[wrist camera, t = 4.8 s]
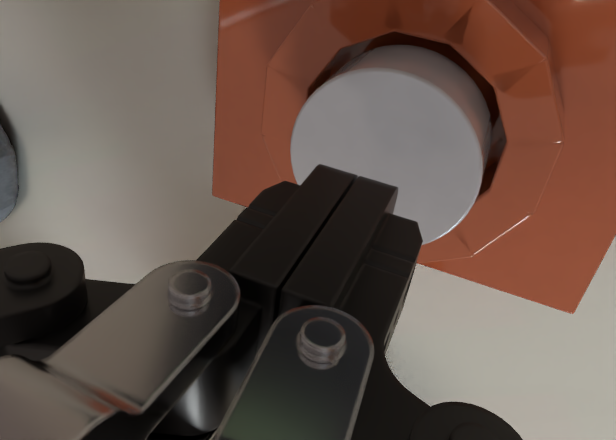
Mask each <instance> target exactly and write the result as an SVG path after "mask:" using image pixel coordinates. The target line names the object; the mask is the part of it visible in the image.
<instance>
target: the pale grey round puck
mask: <svg viewBox="0 0 616 440" xmlns="http://www.w3.org/2000/svg"><path fill="white" fill-rule="evenodd" d="M491 142H492V123H491V117H490V112H489V109H488V106H487V103H486V101H485V99H484V97H483V95H482V93H481V91H480V89H479V88H478V86H477V85H476V83H475V82H474V80H473V79H472V78H471V77H470V76H469V75H468V74H467V73H466V71H464V70H463V69H462V68H461V67H460V66H459V65H457V64H456V63H455V62H453V61H452V60H450V59H448V58H447V57H445V56H443V55H441V54H439V53H437V52H435V51H432V50H429V49H426V48H423V47H418V46H412V45H387V46H381V47H377V48H373V49H371V50H368V51H366V52H363V53H361V54H359V55H357V56H356V57H354V58H352V59H351V60H350V61H348V62H347V63H346V64H344V65H343V66H342V67H341V68H340V69H339V70H338V71H336V72H335V73H334V74H333V75H332V76H331V77H330V78H329V79H327V80H326V81H325V82H324V83H323V84H322V85H321V86H320V87H318V88H317V89H316V90H315V91H314V92H313V93H312V94H311V95H310V96H309V98H308V99H307V100H306V102H305V103H304V105H303V106H302V107H301V109H300V111H299V113H298V115H297V117H296V120H295V123H294V126H293V130H292V135H291V145H290V154H291V164H292V169H293V173H294V176H295V179H296V182H297V184H298V185H301V184H302V183H303V182H304V180H305V179H306V178H307V177H308V176H309V175H310V173H311V172H312V171H313V170H314V169H315V167H316V166H317V165H319V164H322V165H326V166H329V167H332V168H336V169H339V170H342V171H346V172H349V173H352V174H356V175H358V177H359V176H363V177H366V178H369V179H373V180H376V181H379V182H383V183H386V184H389V185H393V186H396V187H398V195H397V200H396V204H395V208H394V212H393V214H394V215H397V216H400V217H403V218H407V219H410V220H413V221H416V222H418V226H419V229H420V233H421V236H422V240H423V243H422V245H424V244H427V243H430V242H432V241H434V240H436V239H438V238H441V237H442V236H444V235H446V234H447V233H449V232H450V231H452V230H453V229H454V228H455V227H456V226H457V225H458V224H460V223H461V221H462V220H463V219H464V218H465V217H466V216H467V214H468V213H469V211H470V210H471V208H472V207H473V205H474V203H475V201H476V198H477V196H478V194H479V190H480V186H481V183H482V179H483V175H484V171H485V168H486V164H487V160H488V156H489V153H490V149H491Z"/></svg>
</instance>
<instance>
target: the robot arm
mask: <svg viewBox="0 0 616 440" xmlns="http://www.w3.org/2000/svg"><path fill="white" fill-rule="evenodd" d="M397 195H398V187H396V186H393V185H389V184H386V183H383V182H379V181H376V180H373V179H369V178H366V177H363V176H359V177H358V175H356V174H352V173H349V172H346V171H342V170H339V169H336V168H332V167H329V166H326V165H322V164H319V165H317V166H316V167H315V169H314V170H313V171H312V172H311V173H310V175H309V176H308V177H307V178H306V179H305V180H304V182H303V183H302V184H301V185H298V184H294V183H291V182H288V181H283V182H281V183H278V184H276V185H274V186H271V187H269V188H266V189H264V190H262V192H261V193H260V194H259V195H258V196H257V197H256V198H255V199H254V200H253V201H252V202H251V203H250V204H249V207H248V208H247V207H246V208H245V210H244V211H243V212H242V213H241V214H240V215H239V216H238V218H237V220H234V221H233V222H232V223H231V224H230V225H229V226H228V227H227V229H226V230H225V231H224V232H223V233H222V234H221V235H220V236H219V237H218V238H217V239H216V240H215V241H214V242H213V243H212V244H211V245H210V247H209V248H208V249H207V250H206V251H205V252H204V253H203V254H202V255H201V256H200V257H199V258H198V259H197V260H196V261H194V260H185V261H177V262H173V263H168V264H166V265H163V266H160V267H158V268H157V269H155V270H153V271H152V272H150V273H149V274H148V275H146V276H145V277H144V278H143V279H142V280H140V281H139V282H138V283H137V284H125V283H116V282H107V281H98V280H89V279H85V272H84V265H83V261H82V260H81V258H80V257H79V256H78V255H77V254H76V253H75V252H74V251H72V250H71V249H69V248H67V247H64V246H61V245H57V244H52V243H28V244H21V245H16V246H11V247H6V248H1V249H0V440H523V439H522V438H521V437H520V435H519V434H518V433H517V432H516V431H515V430H514V429H513V428H512V427H511V426H510V425H509V424H508V423H506V422H505V421H504V420H503V419H502V418H500V417H498V416H497V415H495V414H494V413H492V412H490V411H488V410H486V409H484V408H482V407H479V406H476V405H473V404H468V403H463V402H444V403H440V404H436V405H433V406H432V407H430V406H429V405H427V404H426V403H425V402H423V401H422V400H420V399H419V398H418V397H416V396H415V395H413V394H412V393H411V392H410V391H408V390H407V389H406V388H405V387H404V386H403V385H402V384H401V383H400V382H399V381H398V380H397V379H396V377H395V376H394V374H393V373H392V372H391V370H390V368H389V366H388V364H387V361H386V358H385V354H386V351H387V348H388V346H389V343H390V340H391V338H392V335H393V333H394V330H395V327H396V325H397V322H398V319H399V317H400V314H401V311H402V309H403V306H404V303H405V300H406V296H407V293H408V289H409V286H410V283H411V279H412V276H413V273H414V269H415V266H416V263H417V259H418V256H419V253H420V249H421V246H422V243H423V240H422V236H421V233H420V229H419V226H418V222H416V221H413V220H410V219H407V218H403V217H400V216H397V215H394V214H393V212H394V208H395V204H396V200H397Z"/></svg>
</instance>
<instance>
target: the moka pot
mask: <svg viewBox="0 0 616 440" xmlns="http://www.w3.org/2000/svg"><path fill="white" fill-rule="evenodd" d="M15 158H16V154H15V152H14V146H12V145H11V144H10V140H9V138H8V136H7V134H6V133H5V131H4V130H3V128H2V126H1V123H0V222H1V221H2V220H4V219H5V218H6V217H7V216H8V215H9V214H10V212H11V211H12V209H13V208H14V206H15V204H16V199H17V196H18V190H19V185H18V170H17V164H16V160H15Z"/></svg>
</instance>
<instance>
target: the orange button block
mask: <svg viewBox="0 0 616 440" xmlns="http://www.w3.org/2000/svg"><path fill="white" fill-rule="evenodd" d="M387 45H412V46H418V47H423V48H426V49H429V50H432V51H435V52H437V53H439V54H441V55H443V56H445V57H447V58H448V59H450V60H452V61H453V62H455V63H456V64H457V65H459V66H460V67H461V68H462V69H463V70H464V71H466V73H467V74H468V75H469V76H470V77H471V78H472V79H473V80H474V82H475V83H476V85H477V86H478V88H479V89H480V91H481V93H482V95H483V97H484V99H485V101H486V103H487V106H488V109H489V112H490V117H491V123H492V142H491V149H490V153H489V156H488V160H487V164H486V168H485V171H484V175H483V179H482V183H481V186H480V190H479V194H478V196H477V198H476V201H475V203H474V205H473V207H472V208H471V210H470V211H469V213H468V214H467V216H466V217H465V218H464V219H463V220H462V221H461V223H460V224H458V225H457V226H456V227H455V228H454V229H453V230H452V231H450V232H449V233H447V234H446V235H444V236H442V237H441V238H438V239H436V240H434V241H432V242H430V243H427V244H424V245H422V246H421V249H420V253H419V256H418V259H417V263H418V264H421V265H424V266H428V267H431V268H434V269H437V270H440V271H443V272H446V273H449V274H452V275H455V276H458V277H461V278H464V279H467V280H470V281H473V282H476V283H479V284H482V285H485V286H488V287H491V288H494V289H497V290H500V291H503V292H507V293H510V294H513V295H516V296H519V297H522V298H525V299H528V300H531V301H534V302H537V303H540V304H543V305H546V306H549V307H552V308H555V309H558V310H561V311H564V312H567V313H570V314H573V313H574V312H575V310H576V308H577V307H578V305H579V303H580V301H581V299H582V297H583V295H584V293H585V292H586V290H587V288H588V286H589V284H590V282H591V280H592V279H593V277H594V275H595V273H596V271H597V269H598V267H599V265H600V264H601V262H602V260H603V258H604V256H605V254H606V252H607V250H608V249H609V247H610V245H611V243H612V241H613V239H614V237H615V236H616V0H220V2H219V28H218V55H217V81H216V107H215V133H214V159H213V185H212V195H213V196H215V197H218V198H221V199H224V200H227V201H230V202H233V203H236V204H239V205H242V206H245V207H249V204H250V203H251V202H252V201H253V200H254V199H255V198H256V197H257V196H258V195H259V194H260V193H261V192H262V190H264V189H266V188H269V187H271V186H274V185H276V184H278V183H281V182H283V181H288V182H291V183H294V184H297V182H296V179H295V176H294V173H293V169H292V164H291V154H290V145H291V135H292V130H293V126H294V123H295V120H296V117H297V115H298V113H299V111H300V109H301V107H302V106H303V105H304V103H305V102H306V100H307V99H308V98H309V96H310V95H311V94H312V93H313V92H314V91H315V90H316V89H317V88H318V87H320V86H321V85H322V84H323V83H324V82H325V81H326V80H327V79H329V78H330V77H331V76H332V75H333V74H334V73H335V72H336V71H338V70H339V69H340V68H341V67H342V66H343V65H344V64H346V63H347V62H348V61H350V60H351V59H352V58H354V57H356V56H357V55H359V54H361V53H363V52H366V51H368V50H371V49H373V48H377V47H381V46H387ZM417 263H416V264H417Z"/></svg>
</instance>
